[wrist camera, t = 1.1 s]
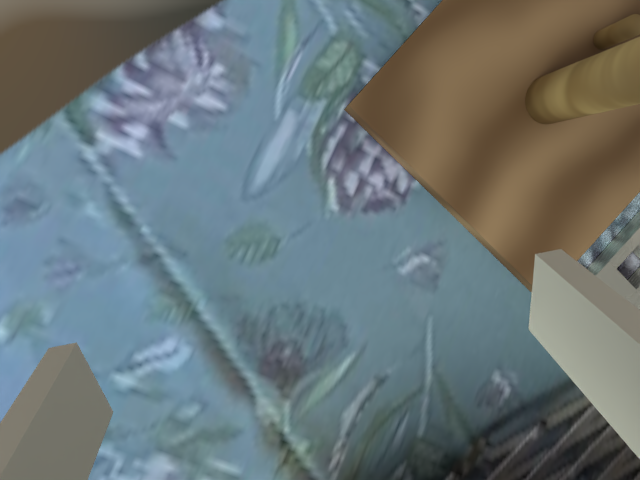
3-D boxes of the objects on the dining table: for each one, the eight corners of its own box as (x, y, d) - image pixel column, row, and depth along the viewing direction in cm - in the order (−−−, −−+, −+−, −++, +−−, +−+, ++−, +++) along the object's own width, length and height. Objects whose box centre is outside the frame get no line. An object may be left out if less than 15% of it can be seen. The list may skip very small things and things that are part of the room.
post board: (705, 99, 31) (898, 61, 21) (530, 291, 31) (646, 337, 21) (536, -105, 28) (674, -255, 18) (344, 109, 28) (383, 69, 18)
